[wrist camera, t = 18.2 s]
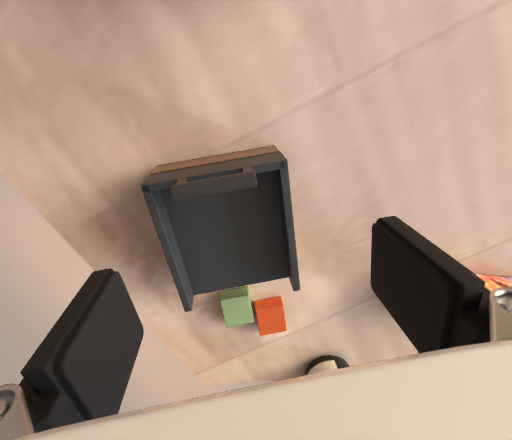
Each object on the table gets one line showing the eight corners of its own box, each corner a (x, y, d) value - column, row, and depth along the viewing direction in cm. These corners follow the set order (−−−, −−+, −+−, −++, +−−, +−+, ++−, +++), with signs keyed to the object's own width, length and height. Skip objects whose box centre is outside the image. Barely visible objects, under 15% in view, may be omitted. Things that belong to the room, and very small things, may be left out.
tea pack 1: (226, 327, 41) (226, 317, 43) (254, 322, 41) (252, 312, 43) (219, 300, 39) (219, 291, 40) (248, 295, 39) (247, 286, 41)
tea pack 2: (260, 336, 42) (258, 325, 44) (286, 330, 42) (284, 321, 44) (255, 310, 40) (254, 301, 42) (283, 305, 40) (280, 296, 42)
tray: (147, 172, 28) (128, 195, 23) (280, 148, 29) (295, 166, 23) (188, 293, 36) (181, 335, 30) (293, 273, 36) (308, 310, 30)
